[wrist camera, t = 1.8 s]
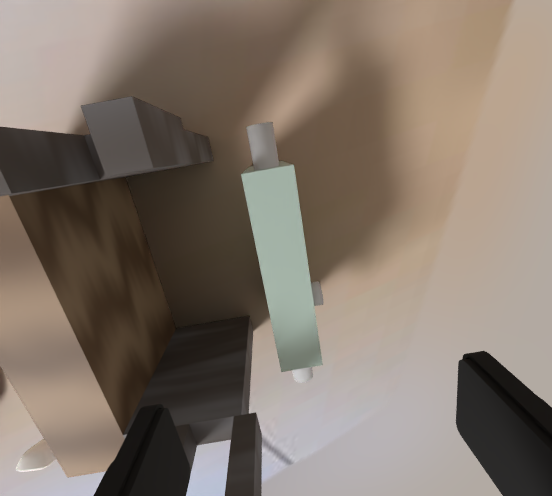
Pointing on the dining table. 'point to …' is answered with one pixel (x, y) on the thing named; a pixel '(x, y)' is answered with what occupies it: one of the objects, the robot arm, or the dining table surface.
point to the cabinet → (110, 299)
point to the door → (282, 254)
